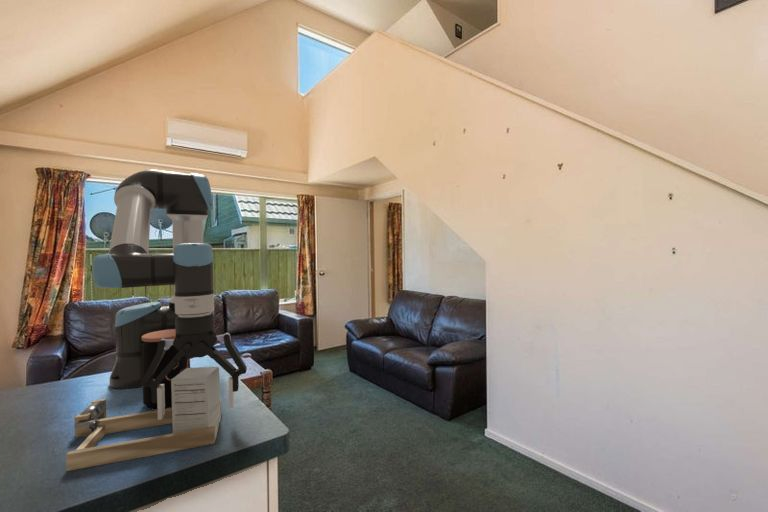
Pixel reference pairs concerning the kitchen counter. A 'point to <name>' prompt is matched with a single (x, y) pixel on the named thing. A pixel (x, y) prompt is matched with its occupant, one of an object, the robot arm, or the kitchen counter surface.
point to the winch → (90, 418)
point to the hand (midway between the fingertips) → (197, 411)
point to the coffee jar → (160, 364)
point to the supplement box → (196, 399)
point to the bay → (137, 448)
